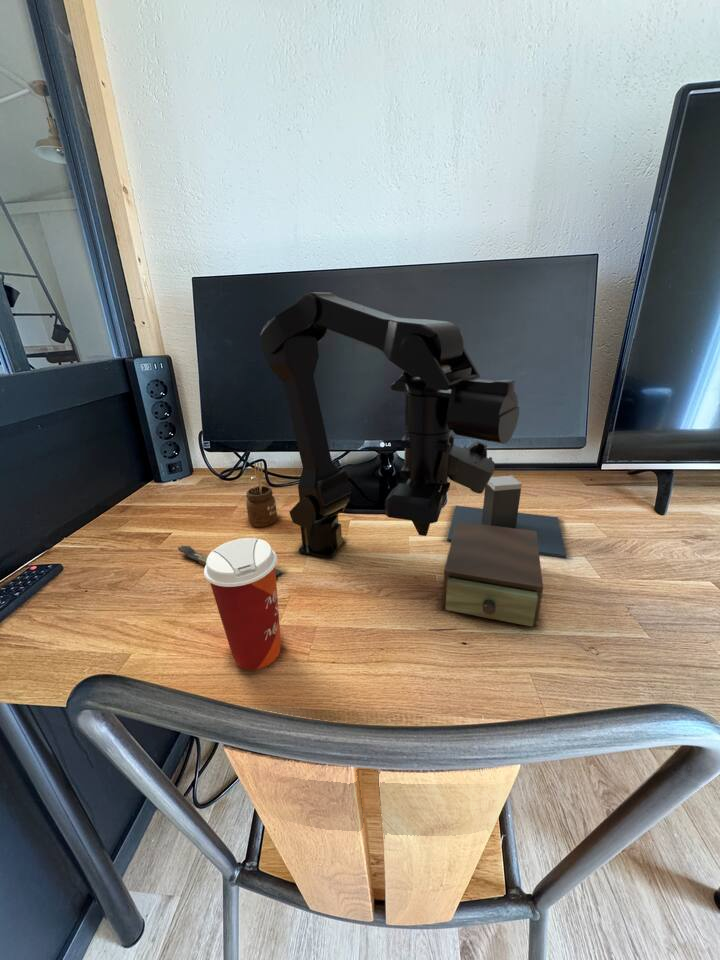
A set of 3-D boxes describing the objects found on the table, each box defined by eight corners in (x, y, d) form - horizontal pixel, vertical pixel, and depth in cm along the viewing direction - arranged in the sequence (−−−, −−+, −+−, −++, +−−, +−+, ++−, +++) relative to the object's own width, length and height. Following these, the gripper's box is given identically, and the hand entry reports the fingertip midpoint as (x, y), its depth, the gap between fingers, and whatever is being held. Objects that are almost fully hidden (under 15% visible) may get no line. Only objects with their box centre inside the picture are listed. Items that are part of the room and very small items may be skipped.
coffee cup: (297, 661, 50) (284, 561, 44) (230, 688, 47) (206, 584, 41) (279, 619, 57) (265, 528, 51) (220, 640, 54) (197, 545, 48)
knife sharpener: (489, 534, 75) (494, 486, 71) (481, 524, 78) (486, 477, 74) (515, 532, 75) (521, 483, 71) (505, 522, 79) (511, 475, 75)
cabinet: (536, 626, 54) (543, 587, 51) (442, 608, 58) (444, 570, 55) (530, 565, 67) (536, 531, 64) (454, 553, 70) (456, 520, 68)
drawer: (533, 633, 52) (538, 604, 50) (444, 615, 55) (445, 587, 53) (528, 568, 64) (532, 542, 62) (456, 557, 68) (458, 532, 66)
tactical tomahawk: (283, 575, 67) (283, 570, 67) (254, 595, 62) (253, 589, 62) (204, 540, 78) (204, 535, 78) (173, 554, 73) (172, 549, 72)
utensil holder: (246, 529, 81) (237, 474, 76) (251, 514, 87) (243, 463, 82) (276, 526, 82) (268, 472, 77) (279, 512, 87) (272, 461, 83)
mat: (447, 541, 74) (447, 538, 74) (455, 507, 86) (455, 505, 86) (565, 558, 68) (566, 555, 68) (557, 519, 80) (557, 517, 80)
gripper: (490, 459, 40) (476, 585, 46) (497, 414, 56) (486, 512, 62) (383, 450, 43) (383, 568, 50) (418, 409, 59) (415, 503, 66)
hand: (423, 534), depth 57 cm, fingers closed
